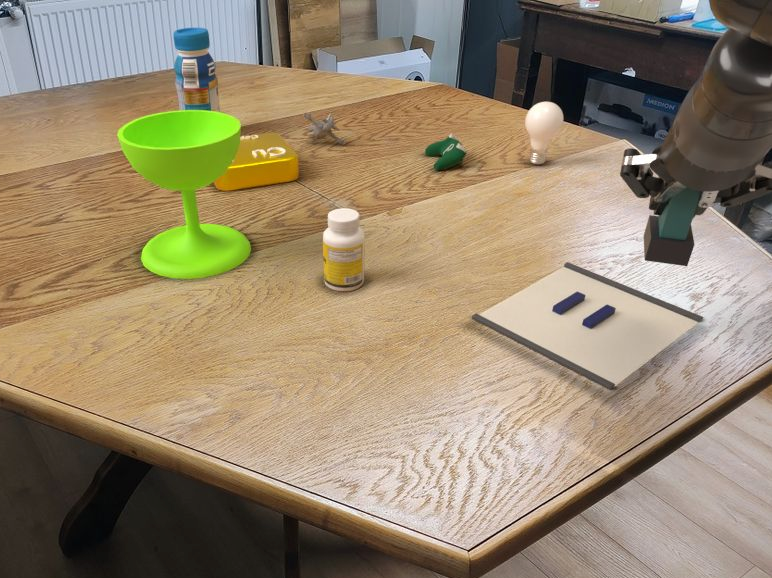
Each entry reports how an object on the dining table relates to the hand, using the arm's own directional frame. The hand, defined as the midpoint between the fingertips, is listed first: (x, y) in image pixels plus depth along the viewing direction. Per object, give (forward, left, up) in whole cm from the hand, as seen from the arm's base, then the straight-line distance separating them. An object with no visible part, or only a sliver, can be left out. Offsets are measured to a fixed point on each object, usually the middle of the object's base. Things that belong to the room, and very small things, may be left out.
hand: (673, 208), depth 71 cm
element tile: (+4, -72, -16) cm, 74 cm away
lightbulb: (-36, -39, -16) cm, 56 cm away
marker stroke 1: (+3, -7, -14) cm, 16 cm away
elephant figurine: (-15, -75, -16) cm, 78 cm away
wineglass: (+28, -52, -16) cm, 61 cm away
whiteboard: (+4, -4, -15) cm, 17 cm away
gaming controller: (-25, -51, -16) cm, 59 cm away
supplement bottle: (+18, -31, -16) cm, 39 cm away
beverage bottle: (-1, -96, -16) cm, 98 cm away
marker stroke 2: (+3, -3, -14) cm, 15 cm away
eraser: (+2, +1, -4) cm, 4 cm away
